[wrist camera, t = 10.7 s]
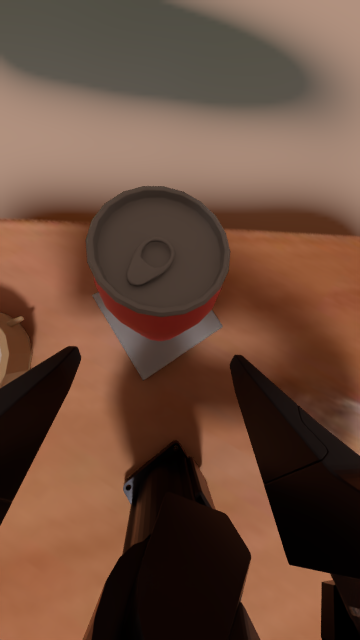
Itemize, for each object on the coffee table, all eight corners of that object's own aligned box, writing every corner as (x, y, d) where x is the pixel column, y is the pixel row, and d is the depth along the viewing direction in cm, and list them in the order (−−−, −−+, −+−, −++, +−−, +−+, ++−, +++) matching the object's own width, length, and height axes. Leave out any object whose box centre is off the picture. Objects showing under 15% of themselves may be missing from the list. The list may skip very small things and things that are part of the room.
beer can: (118, 318, 17) (22, 252, 5) (154, 275, 18) (146, 146, 6) (166, 353, 17) (182, 369, 5) (198, 307, 18) (270, 238, 6)
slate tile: (144, 378, 17) (143, 380, 16) (95, 298, 18) (92, 295, 17) (219, 327, 19) (222, 326, 18) (173, 258, 20) (174, 253, 19)
